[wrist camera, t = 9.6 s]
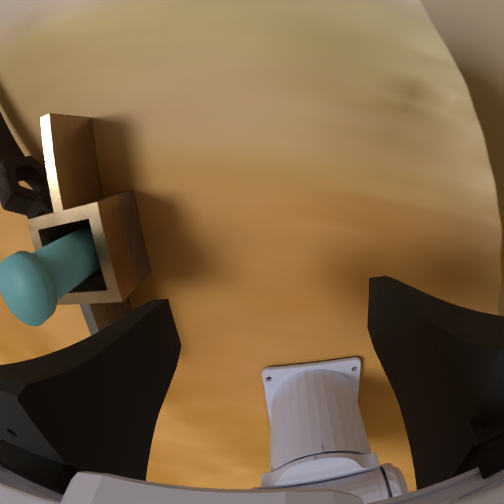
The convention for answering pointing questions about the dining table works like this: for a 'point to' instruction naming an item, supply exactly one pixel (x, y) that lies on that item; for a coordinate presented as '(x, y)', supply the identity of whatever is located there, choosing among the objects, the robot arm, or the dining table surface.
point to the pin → (47, 275)
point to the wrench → (21, 179)
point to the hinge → (101, 221)
